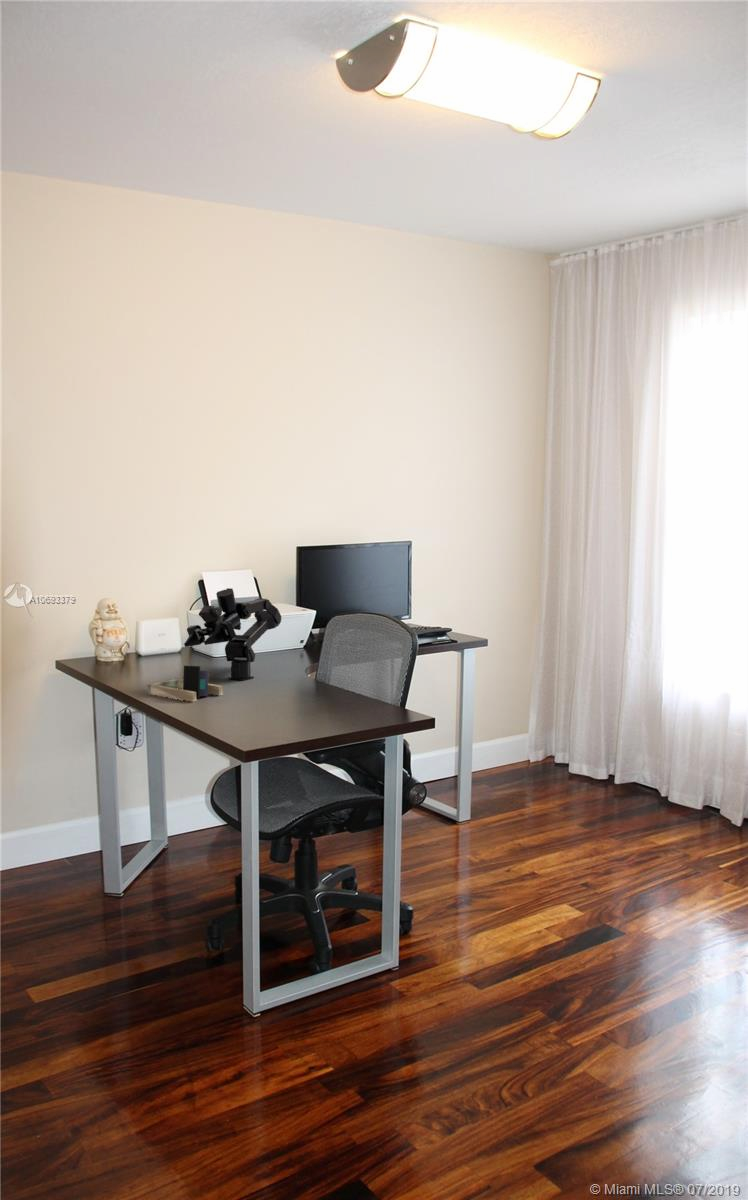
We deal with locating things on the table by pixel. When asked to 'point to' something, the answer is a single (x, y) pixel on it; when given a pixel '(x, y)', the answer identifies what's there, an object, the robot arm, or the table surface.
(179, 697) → the channel
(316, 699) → the table surface
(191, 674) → the dark cylinder with backplate
